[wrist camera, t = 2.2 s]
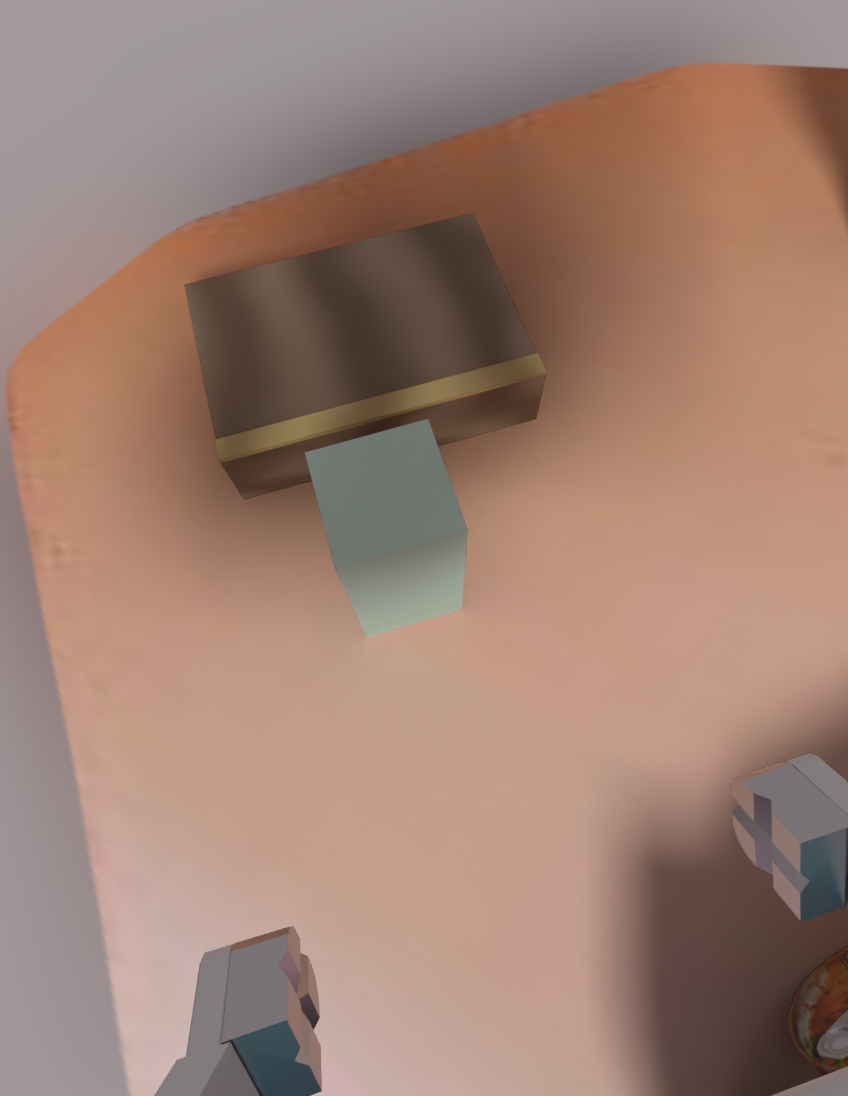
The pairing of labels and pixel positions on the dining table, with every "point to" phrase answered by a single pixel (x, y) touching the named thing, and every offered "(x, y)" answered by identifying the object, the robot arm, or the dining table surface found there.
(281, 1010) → the robot arm
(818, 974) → the tin
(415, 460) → the block
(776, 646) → the dining table surface
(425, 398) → the block
